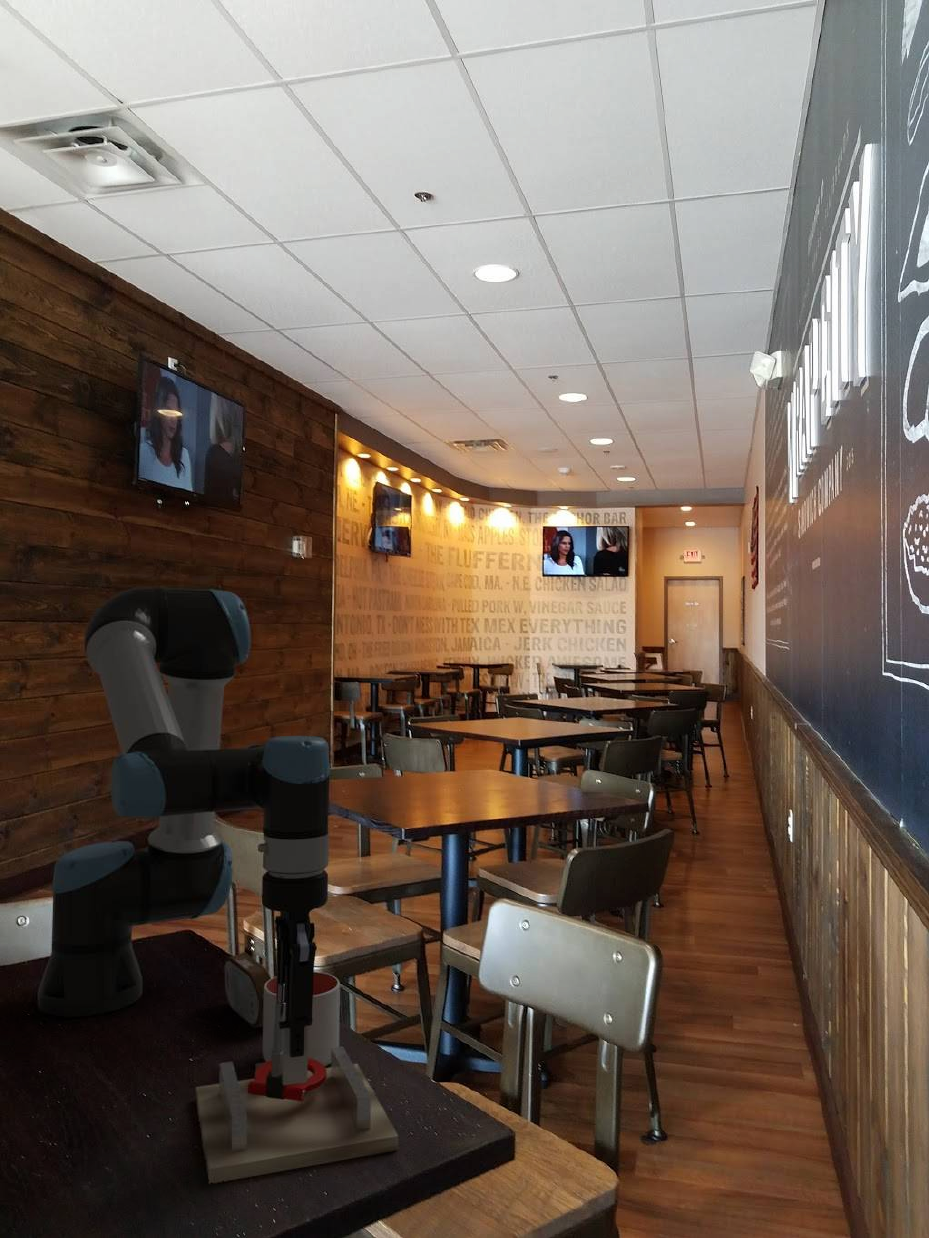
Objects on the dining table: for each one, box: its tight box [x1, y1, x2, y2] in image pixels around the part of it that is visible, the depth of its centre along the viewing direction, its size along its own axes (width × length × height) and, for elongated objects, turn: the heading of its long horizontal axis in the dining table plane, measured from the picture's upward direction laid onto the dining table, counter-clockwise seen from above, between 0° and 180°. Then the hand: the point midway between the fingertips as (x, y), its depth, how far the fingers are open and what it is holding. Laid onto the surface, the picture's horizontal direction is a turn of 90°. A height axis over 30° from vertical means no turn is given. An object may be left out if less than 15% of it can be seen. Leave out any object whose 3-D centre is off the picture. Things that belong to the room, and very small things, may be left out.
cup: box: [262, 971, 341, 1071], centre depth 124 cm, size 10×10×10 cm
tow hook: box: [248, 983, 327, 1101], centre depth 111 cm, size 8×13×9 cm
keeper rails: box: [218, 1045, 371, 1152], centre depth 108 cm, size 16×15×4 cm
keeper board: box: [195, 1063, 399, 1185], centre depth 107 cm, size 19×20×2 cm
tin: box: [223, 951, 272, 1029], centre depth 138 cm, size 15×3×8 cm, turn 34°
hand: (292, 1076), depth 107 cm, fingers closed on tow hook, 2 cm apart
